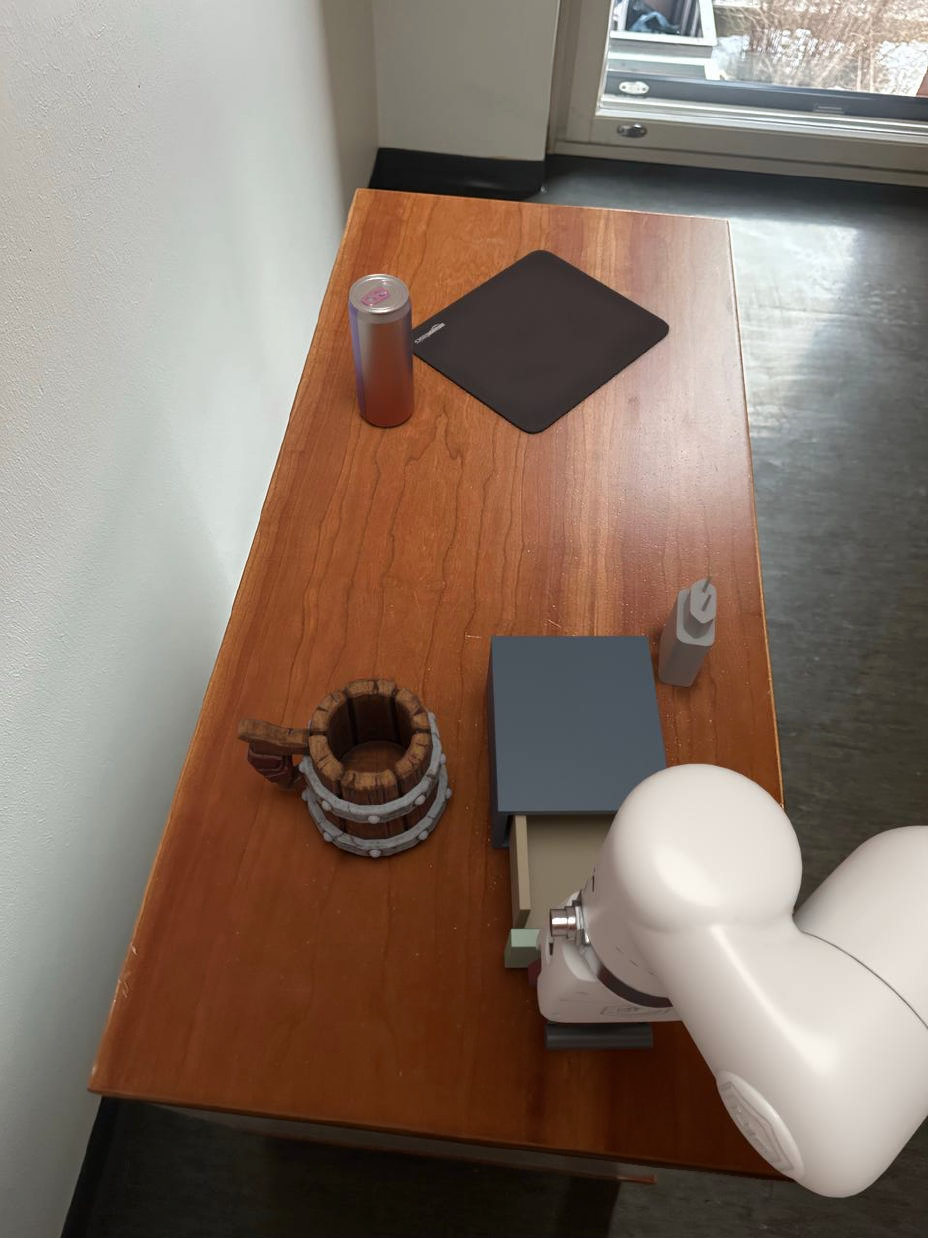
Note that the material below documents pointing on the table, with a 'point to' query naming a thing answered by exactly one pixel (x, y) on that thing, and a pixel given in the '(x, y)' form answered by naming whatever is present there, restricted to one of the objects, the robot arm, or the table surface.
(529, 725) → the cabinet
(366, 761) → the mug
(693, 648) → the power adapter
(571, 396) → the mouse pad
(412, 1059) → the table surface
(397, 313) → the beverage can
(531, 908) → the drawer
